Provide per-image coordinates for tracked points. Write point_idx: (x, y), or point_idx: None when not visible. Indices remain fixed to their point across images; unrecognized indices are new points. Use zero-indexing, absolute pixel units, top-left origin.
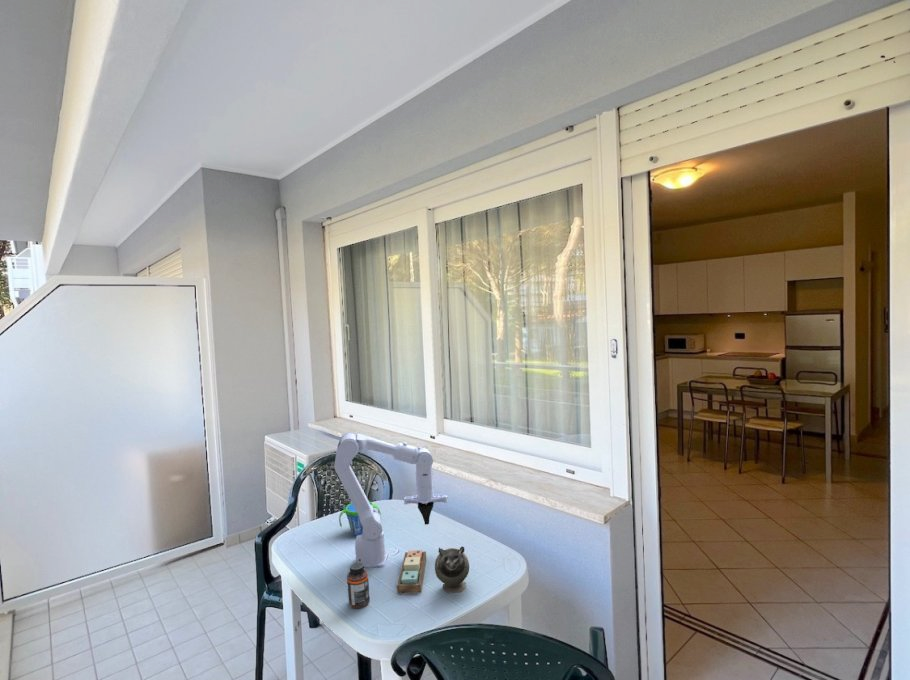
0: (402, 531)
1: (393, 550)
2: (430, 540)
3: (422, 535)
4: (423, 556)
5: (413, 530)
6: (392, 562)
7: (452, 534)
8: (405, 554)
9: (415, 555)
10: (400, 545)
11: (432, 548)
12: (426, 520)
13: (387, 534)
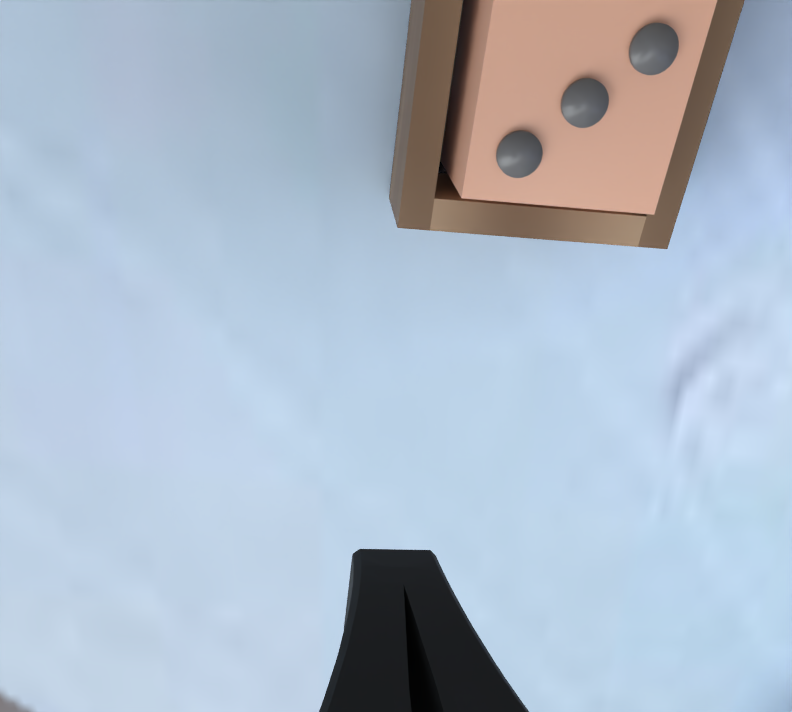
0: (586, 686)
1: (724, 410)
2: (337, 540)
3: None
4: (439, 94)
5: None
6: (788, 173)
7: (111, 616)
8: (674, 194)
9: (573, 47)
10: (640, 487)
11: (315, 398)
12: (405, 617)
13: (719, 655)
